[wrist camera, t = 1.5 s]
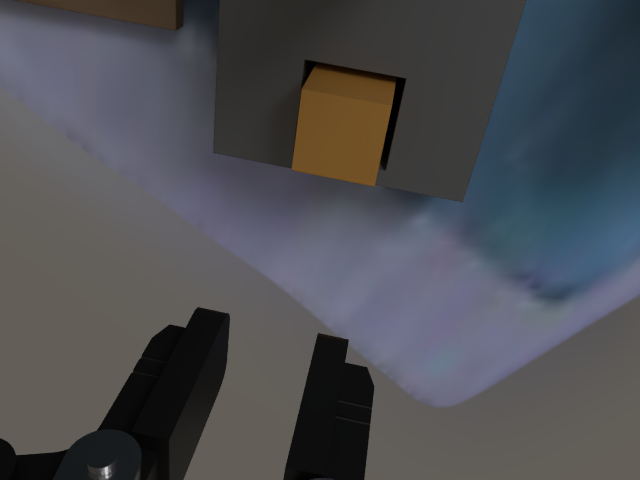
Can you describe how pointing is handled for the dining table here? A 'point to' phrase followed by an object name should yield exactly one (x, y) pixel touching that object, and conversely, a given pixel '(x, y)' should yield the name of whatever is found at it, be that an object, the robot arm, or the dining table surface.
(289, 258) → the dining table surface
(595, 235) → the dining table surface
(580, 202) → the dining table surface
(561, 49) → the dining table surface
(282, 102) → the block
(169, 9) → the walnut pad
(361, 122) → the orange cardboard box
